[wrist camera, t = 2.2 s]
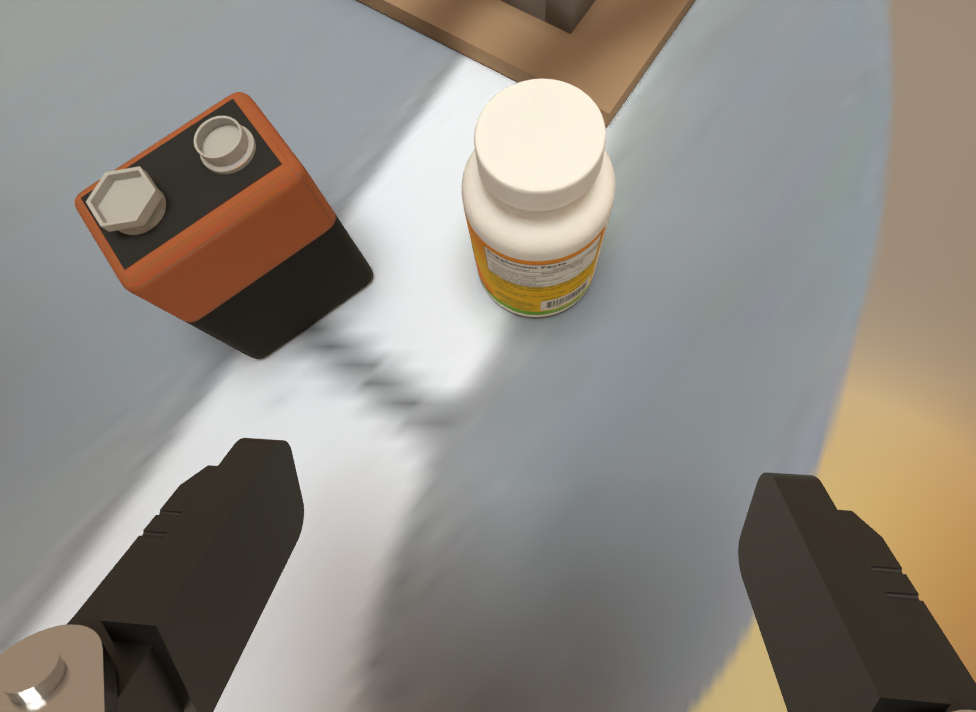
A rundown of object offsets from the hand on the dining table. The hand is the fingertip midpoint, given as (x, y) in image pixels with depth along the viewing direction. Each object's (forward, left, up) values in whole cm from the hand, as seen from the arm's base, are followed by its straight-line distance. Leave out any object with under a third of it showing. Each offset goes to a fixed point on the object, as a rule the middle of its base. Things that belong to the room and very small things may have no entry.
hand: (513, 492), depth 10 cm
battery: (-14, +2, -15) cm, 21 cm away
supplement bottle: (-5, +9, -15) cm, 18 cm away
